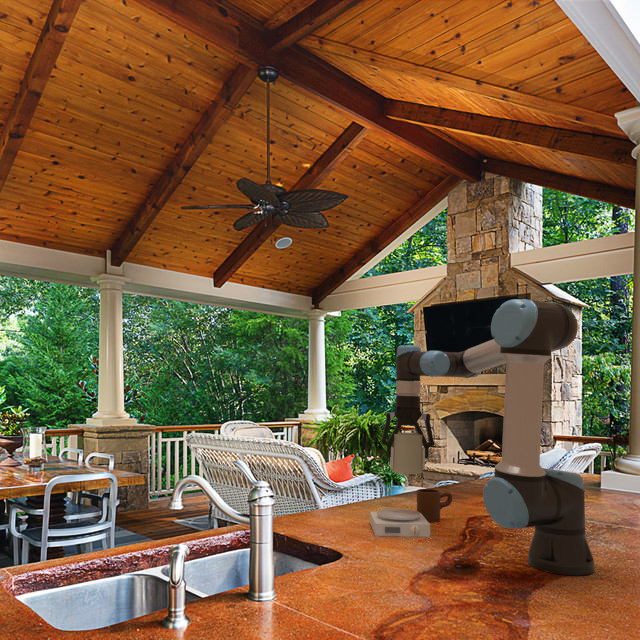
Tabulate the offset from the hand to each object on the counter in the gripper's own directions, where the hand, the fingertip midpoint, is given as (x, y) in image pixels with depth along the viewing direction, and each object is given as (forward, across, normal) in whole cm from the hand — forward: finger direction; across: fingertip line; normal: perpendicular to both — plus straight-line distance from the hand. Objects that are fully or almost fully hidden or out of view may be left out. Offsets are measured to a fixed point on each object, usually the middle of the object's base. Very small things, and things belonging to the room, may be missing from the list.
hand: (407, 468), depth 178 cm
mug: (+19, -11, -14) cm, 26 cm away
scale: (+18, +2, 0) cm, 18 cm away
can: (+1, 0, 0) cm, 1 cm away
